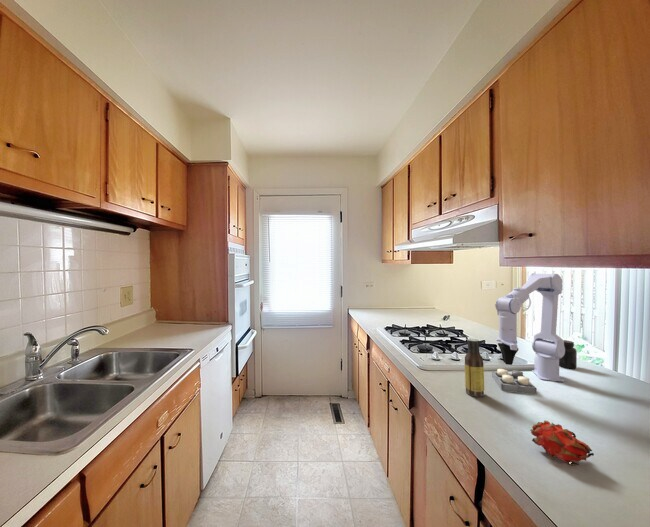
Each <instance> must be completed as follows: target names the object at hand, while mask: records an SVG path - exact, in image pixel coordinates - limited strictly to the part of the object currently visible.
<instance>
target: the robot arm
mask: <svg viewBox="0 0 650 527" xmlns="http://www.w3.org/2000/svg"><path fill="white" fill-rule="evenodd" d="M527 278H528V279H527V281H526V282H525V283H524V284H523V285H522V286H521V287H514V288H513V289H512V291H510V292H509V293H507V294H506V295H505V296H501V297H499V298H497V299H496V301H495V304H494V306H495V309H496V312H497V316H498V337H497V338H495V341H496V342H498V343H497V346H498V347H499V350H500V352H501V357H502V361H503V363H505V365H510V366H512V365H513V362H514V361H515V360H514V359H515V356H516V354H517V353H518V351H519V347H518V339H517V338H518V336H517V335H518V334H517V333H518V332H517V330H518V328H517V326H518V325H517V324H518V323H517V321H518V320H517V314H518V313H519V312H520V310H521V307H523V306H522V305H523V304H524V303H525V302H526V301H527V300H529V299H530V294H531V293H533V292H534V291H536V292H538V293H540V294H541V295H542V306H541V308H542V309H541V318H540V319H541V322H540V323H541V324H540V332H538V333H536V334H534V336H533V340H532V342H531V348H532V350H533V352H535V356H534V358H533V360H534V369H532V370H531V372H532V373H533V374H534V375H535V376H536V377H538V379H539V380H542V381H544V380H545V381H552V382H562V383H563V382H565V379H563V378H561V377H560V366H559V359H560V358H562V357H563V356H564V354H565V347H564V339H563V338H561V337H560V336H559V335H558V333H557V323H558V308H559V305H558V304H559V295H560V294H562V293H563V278H562V277H561V275H559V274H558V273H536V272H533V273H530V275H528V277H527Z"/></svg>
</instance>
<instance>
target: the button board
mask: <svg viewBox="0 0 650 527" xmlns="http://www.w3.org/2000/svg"><path fill="white" fill-rule="evenodd" d="M508 375H510V376H512V373H509V372H508ZM523 377H526V376H525V375H524V374H523ZM491 378H492V379H493V380H494V382H495V384H496V385H497V386H498V388H499V389H500V390H501V391H503V392H510V393H519V394H529V395H537V390H538V389H537V387H535V385H534V384H533V383H532V382H531V381H530V380H529V385H521V384H519V383H518V378H514V377H513V383H512V384H509V383H505V382H503V381H502V377H501V376H499V375H497V371H492V372H491Z"/></svg>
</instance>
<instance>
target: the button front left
mask: <svg viewBox="0 0 650 527" xmlns="http://www.w3.org/2000/svg"><path fill="white" fill-rule="evenodd" d="M529 381H530V378H528V377H527V376H525V377H523V376H518V383H519V384H521V385H529Z"/></svg>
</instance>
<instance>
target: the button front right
mask: <svg viewBox="0 0 650 527" xmlns="http://www.w3.org/2000/svg"><path fill="white" fill-rule="evenodd" d="M502 381H503V382H505V383H509V384H512V383H513V376H510V375H502Z"/></svg>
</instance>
